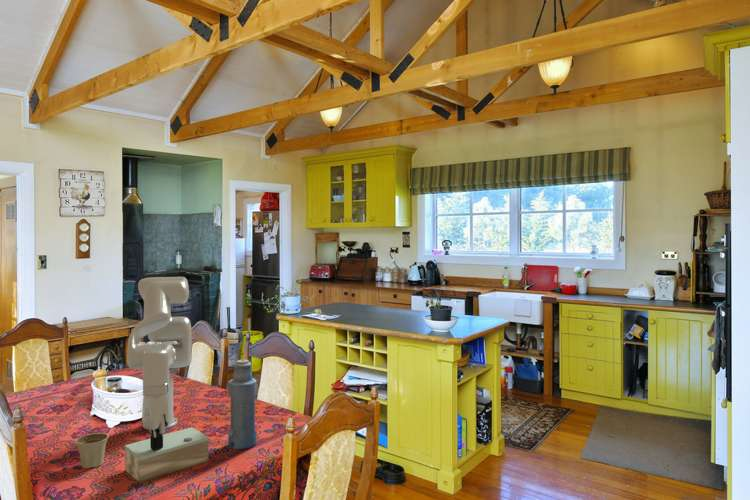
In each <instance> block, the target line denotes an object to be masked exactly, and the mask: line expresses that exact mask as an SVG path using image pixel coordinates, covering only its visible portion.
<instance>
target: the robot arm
mask: <svg viewBox="0 0 750 500" xmlns="http://www.w3.org/2000/svg"><path fill="white" fill-rule="evenodd" d="M189 287H190V286H189V282H188V279H187V278H186V277H185V276H155V277H154V276H153V277H145V278H142V279H140V280H139V281H138V284H137V288H138V292H139V294H140V297H141V298H142V300H143V318H142V319H141V320H140V321H139V322H138V323H137V324H136V325H135V327H133V329H132V330H131V332H130V334H129V337H128V339H127V349H126V350H127V352H126V353H127V354H126V362H127V366H128V367H129V368H130V369H132V370H142V396H143V398H142V413H141V415H142V416H141V422H142V428H143V429H144V430H147V431H149V435H150V438H149V439H150V443H151V449H152V450H157V449H160V448H163V435H165V434H164V433H166V430H167V429H169V428H172V427H174V426H176V425H177V424H178V422H179V420H178V418H177V417H175V416H174V379H173V376H172V375H171V373H170V369H176V368H185V367H188V366H189V365H191V364H192V358H193V351H192V349H193V345H192V344H193V343H192V335H193V334H192V324H191V320H190V319H189V317H187V316H172V313H171V312H172V311H171V310H172V309H171V307H172V306H171V305H181V304H182V305H183V304H186V303H187V302H188V301H189V296H190V289H189ZM146 336H147V338H148V339H149V341H152V342H170V341H176V342H177V343H175V344H157V343H156V344H152V345H139V346H137V344H139V342H140V341H141V339H143V338H144V337H146Z"/></svg>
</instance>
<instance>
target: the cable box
mask: <svg viewBox="0 0 750 500" xmlns="http://www.w3.org/2000/svg"><path fill="white" fill-rule="evenodd" d="M209 460H210V459H209V440H207V441H204V442H201V443H197V444H194V445H191V446H187V447H184V448H180V449H177V450H174V451H170V452H167V453H164V454H160V455H157V456H153V457H150V458H147V459H143V460H139V459H137V458H136V457H135V456H134V455H132V454H131V453H130V452H129V451H127V450H126V449H125V448H124V463H125V464H124V466H125V467H124V468H125V472H127V474H128V475H130V476H131V478H133V479H134V480H136V482H137V483H139V484H141V483H145V482H147V481H150V480H154V479H157V478H160V477H163V476H165V475H166V476H167V475H169V474H172V473H175V472H178V471H181V470H184V469H188V468H190V467H194V466H197V465H200V464H203V463H205V462H209Z"/></svg>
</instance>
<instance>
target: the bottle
mask: <svg viewBox="0 0 750 500" xmlns="http://www.w3.org/2000/svg"><path fill="white" fill-rule="evenodd" d="M233 368H234V369H233V378H232V379H230V380H229V381H228V394H229V396H230V427H229V430H228V438H227V439H228V447H229V448H231V449H233V450H245V449H250V448H252V447H254V446H255V445H256V444H257V441H258V440H257V435H258V433H257V431H256V426H255V425H256V420H255V419H256V417H255V416H256V406H255V405H256V395H257V391H258V390H257V379H255V378H254V377H253V374H252V363H251V362H250V361H249V360H248V359H238V360H237V361H236V362H234V364H233Z"/></svg>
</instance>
